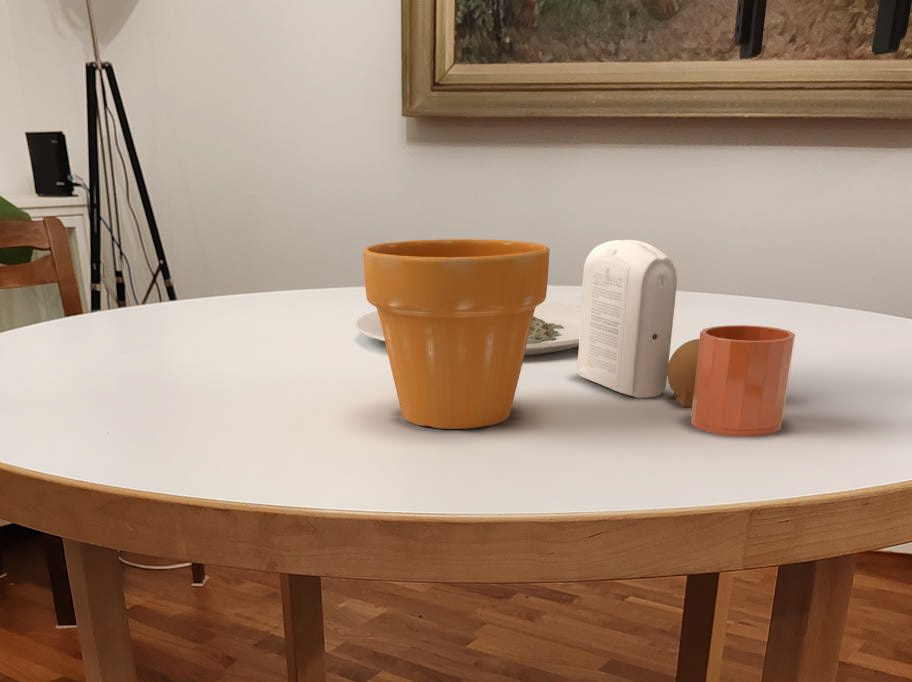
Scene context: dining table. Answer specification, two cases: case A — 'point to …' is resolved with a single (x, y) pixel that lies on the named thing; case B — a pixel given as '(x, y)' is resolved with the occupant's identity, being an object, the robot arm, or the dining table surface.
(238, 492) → the dining table surface
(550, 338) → the plated food
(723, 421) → the pot
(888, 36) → the robot arm
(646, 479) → the dining table surface
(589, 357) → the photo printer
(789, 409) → the dining table surface
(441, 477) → the dining table surface
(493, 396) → the flower pot
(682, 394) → the bread loaf
